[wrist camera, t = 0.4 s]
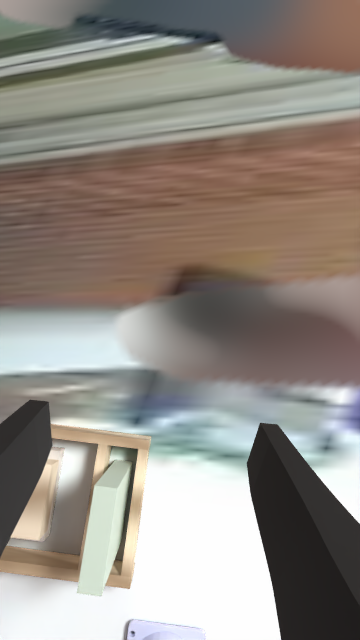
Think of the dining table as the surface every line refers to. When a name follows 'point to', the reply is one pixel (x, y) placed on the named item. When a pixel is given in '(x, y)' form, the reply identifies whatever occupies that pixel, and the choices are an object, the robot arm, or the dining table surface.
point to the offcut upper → (38, 505)
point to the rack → (88, 514)
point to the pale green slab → (104, 527)
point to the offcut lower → (54, 454)
